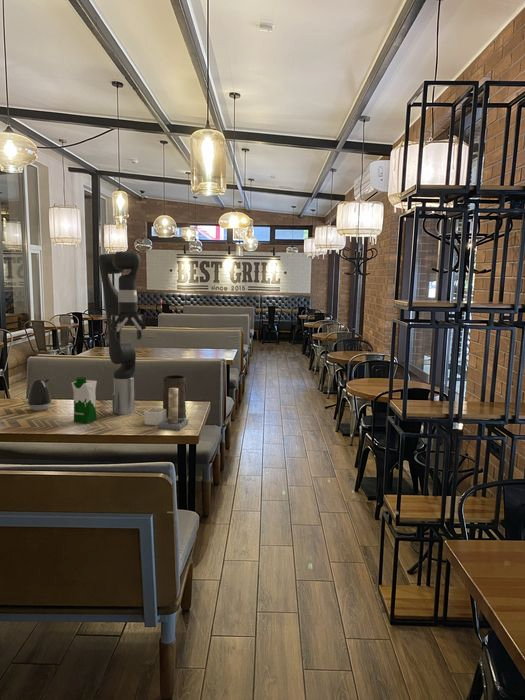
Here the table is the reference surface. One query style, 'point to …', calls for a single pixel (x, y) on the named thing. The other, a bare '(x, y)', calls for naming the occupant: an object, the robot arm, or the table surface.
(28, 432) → the table surface
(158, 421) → the light grey square box
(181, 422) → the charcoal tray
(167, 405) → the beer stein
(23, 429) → the table surface
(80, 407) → the milk carton
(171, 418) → the birch pin
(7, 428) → the table surface
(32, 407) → the dark grey rounded piece
